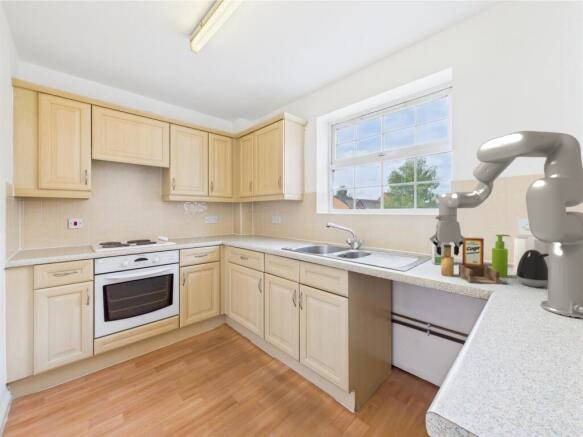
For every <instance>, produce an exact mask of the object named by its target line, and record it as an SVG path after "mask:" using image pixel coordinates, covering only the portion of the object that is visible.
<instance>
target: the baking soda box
mask: <svg viewBox="0 0 583 437" xmlns="http://www.w3.org/2000/svg"><path fill="white" fill-rule="evenodd" d="M463 237H464V238H466V241H465V242H464V243H463V244H462V245H461V246H462V247H461V248H462V254H461V255H462V258H461V259H462V265H473V266H484V255H485V254H484V253H485V252H484V250H485V249H484V248H485V247H484V243H485V242H484V241H485V238H484V237H477V236H472V237H471V236H463Z"/></svg>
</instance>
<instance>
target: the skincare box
mask: <svg viewBox="0 0 583 437" xmlns="http://www.w3.org/2000/svg"><path fill="white" fill-rule="evenodd" d="M434 240H435V242H437V240H436V238H435V239H434ZM450 243H451V242H442V243H441V245H440V247H441V255H438V254H437V252H436V245H434V244H433V242H432V241H431V263H432V264H434V265H441V257H442V256H444V245H451V244H450Z"/></svg>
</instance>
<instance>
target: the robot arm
mask: <svg viewBox="0 0 583 437" xmlns="http://www.w3.org/2000/svg"><path fill="white" fill-rule="evenodd" d="M581 149H582V148H581V144H580V142H579V140H578V139H577V138H576V137H575V136H574V135H572V134H568V133H563V132H556V131H542V130H541V131H540V130H539V131H537V130H520V131H515V132H512V133H511V132H510V133H509V134H505V135H502V136H499V137H496V138H491V139H489V140H486V141H484V142H483V143H482V144H481V145H480V146H479V147H478V148H477V151H476V159H477V160H478V162H479V163H478V165H477V166H476V167H475V169H473V172H472V174H473V176H474V177H475V179H476V180H478V181H479V182H478V183H477V185H476V186H475V187H474V188H473V190H471V191H455V192H449V193H441V194H440V195H439V196H438V215H437V216H435V219H436V220H438V221H436V222H437V223H436V228H435V234H433V235H432V236H431V237H430V238H429V241H430V242H431V243H432V242H433V244H434V245H436V252H437V254H438V255H441V247H440V245H441V243H442V242H450V243H453V244H454V246H453V254H454V256H459V254H460V247H461V246H462V244H463V243H464V242H465V241H466V238H464V237H465V236H463V235H462V232H461V231H462V230H461V226H460V225H461V224H460V221H458V216H457V215H458V209H474V208H477V207H479V206H480V205H482V203H484V202H485V201H486V200H487V199H488V197H490V195H491V194H492V192H493V189H494V182H495V180H496V179H497V178H498V177H500V175H501V174H502V173H503V172H504V171H505V170H506V169H507V168H508V167H509V166H510V165H511V164H512V163H513V162H514V161H515V160H516V158H545V161H544V164H543V173H544V177H542V178H541V177H540V178H538V179H536V180H535V181H533V182H532V183H530V185H529V186H528V187H527V189H526V194H525V202H526V203H525V205H526V210H527V220H528V226H529V230H530V233H531V234H532V237H535V238H536V239H538V240H540V241H542V242H545V243H551V246H550V249H549V256H548V283H547V300H543V301H541V302H540V307H541V308H542V309H544V310H546V311H548V312H551V313H554V314H556V315H557V314H558V315H560V314H561V316H566V317H569V316H571V318H575V317H580V318H579V319H583V212H581V211H571V210H569V211H567V208H572V207H576V206H578V205H581V204H583V159H582V150H581ZM435 238H436V240H437V242H435V240H434V239H435Z"/></svg>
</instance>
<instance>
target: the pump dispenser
mask: <svg viewBox="0 0 583 437" xmlns="http://www.w3.org/2000/svg"><path fill="white" fill-rule="evenodd" d="M546 256H549V254H548V253H546V254H541V253H540V252H539V251H537V250H528V251H526V252H525V253H524V254H523V256H522V257H521V259H520V261H519V264H518V267H517V273H515V274H516V276H517V279H518V281H519V283H521V284H523V285H525V286H527V287H532V288H543V287H545V286H546V285H548V266H547V263H546V261H545V259H544V257H546Z"/></svg>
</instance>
